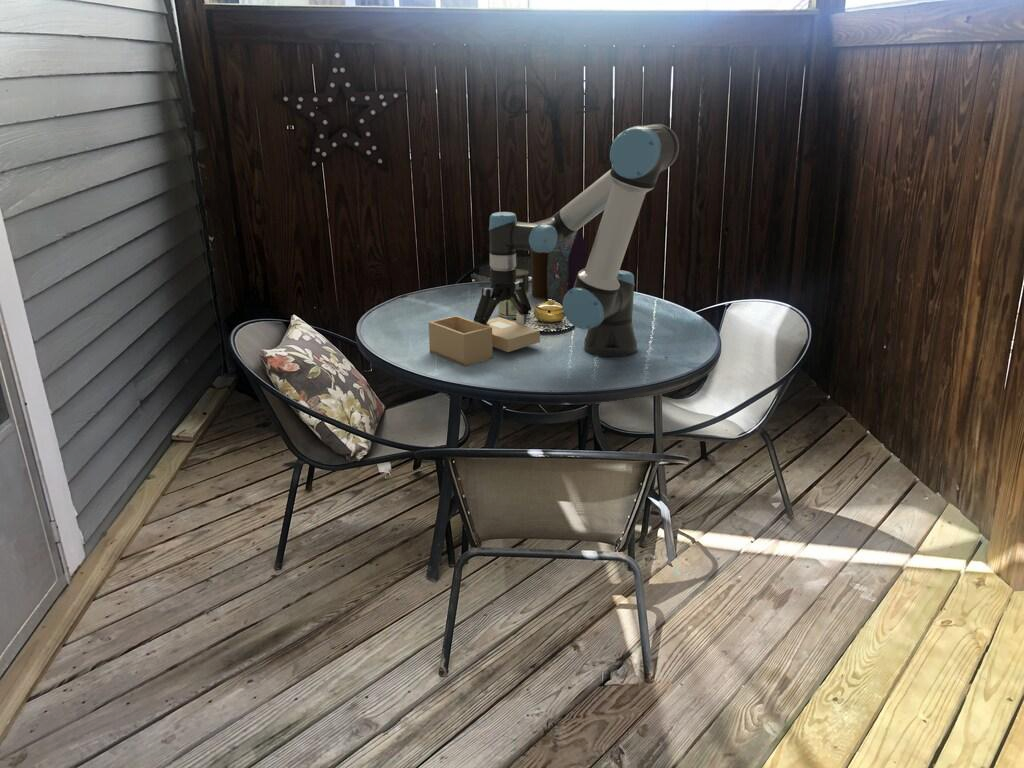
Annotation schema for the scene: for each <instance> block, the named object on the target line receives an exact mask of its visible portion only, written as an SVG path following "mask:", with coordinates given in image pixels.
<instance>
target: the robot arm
mask: <svg viewBox="0 0 1024 768" xmlns="http://www.w3.org/2000/svg"><path fill="white" fill-rule="evenodd" d="M679 152H680V143H679V138H678V136H677V134H676V133H675V131H673V130H672V129H671V128H670V127H669V126H667V125H664V124H662V123H661V124H660V123H652V124H647V125H634V126H630V127H629V128H627V129H624V130H623V131H622V132H620V133H619V134H617V136H616V137H615V138H614V140H613V141H612V143H611V146H610V151H609V161H610V162H611V168H610V169H609V170H608V171H607V172H604V174H602V176H600V177H599V178H598V179H596V180H595V181H594V182H593V183H592V184H591V185H589V186H588V187H587V188H585V190H584V189H583V191H581V193H579V194H578V195H577V196H576V197H574V198H573V199H572V200H571V201H569V202H568V203H567V204H566V205H565V206H563V207H562V208H561V209H559V211H557V212H555V214H553V215H552V216H550V217H549V218H546V219H543V220H539V221H536V222H524V221H523V222H522V221H517V215H516V213H515V212H511V211H498V212H497V211H496V212H494V213H491V215H490V216H489V224H488V225H489V227H488V232H489V233H488V234H489V235H488V236H489V267H490V269H489V281H490V284H491V286H490V287H489V288H487V287H482V289H481V296H480V299H479V303H478V305H477V309H476V312H475V314H474V316H473V321H474V322H477V323H480V324H483V325H486V326H489V327H490V324H489V323H487V322H488V320H490V319H491V317H492V315H493V313H494V311H495V310H496V308H497V307H498V304H499V303H500V301H504V300H510V301H511V302H512V304H513V305H514V306H515V308H516V309H517V310H518V312H519V313H517V314H516V318H515V319H516V323H519V324H522V325H526V322H527V321H526V319H527V316H528V314H529V315H530V312H531V311H532V306H531V304H530V301H528V298H527V296H526V293H525V290H524V283H523V282H520V281H516V269H517V268H516V267H517V250H522V251H527V252H531V251H534V252H538V253H541V252H545V253H549V252H551V251H552V250H553V248H555V246H556V244H558V243H563V242H565V241H567V240H569V239H570V238H572V237H573V235H574V233H575V232H576V231H577V230H578V229H580V228H581V229H582V227H584V226H585V225H587V224H588V223H589V222H590V221H591V220H593V219H594V218H595V217H596V216H598V215H599V214H600V213H602V217H601V219H600V223H599V224H598V229H597V231H596V235H595V237H594V240H593V241H594V242H593V245H592V247H591V251H590V253H589V259H588V262H587V265H586V268H585V269H582V270H580V271H579V272H578V275H577V278H576V281H575V284H574V287H573V288H572V289H570V290H569V291H568V292H567V293H566V295H565V296H564V299H563V304H562V306H563V309H562V311H563V314H564V315H565V318H566V319H567V321H568V322H569V323H570V324H571V325H572V326H574V327H576V328H577V329H581V330H587V333H586V336H585V338H584V341H583V342H584V343H583V344H584V345H583V349H584V351H586V352H587V353H589V354H592V355H595V356H600V357H607V358H610V357H612V358H613V357H614V356H615V357H614V358H616V356H619V357H625V356H624V355H626V356H629V355H632V354H634V353H636V352H637V349H638V342H637V339H636V336H635V331H634V327H633V313H634V312H633V310H634V309H633V308H634V297H635V296H634V293H635V285H636V284H635V275H634V274H633V273H632V272H630V271H627V270H621V266H622V263H623V261H624V257H625V255H626V252H627V249H628V247H629V243H630V240H631V237H632V234H633V232H634V229H635V226H636V222H637V219H638V217H639V215H640V212H641V208H642V205H643V204H644V203H643V202H644V200H645V197H646V194H647V193H648V192H650V191H652V190H653V189H655V187H656V183H657V181H658V178H659V175H660V173H662V172H663V171H665V170H666V169H668V168H670V167H671V166H672V165H673V164H674V163H675V161H676V160H677V158H678V156H679ZM515 289H516V292H517V294H518V297H519V299H520V301H519V300H518V298H517V296H516V294H515V293H514V290H515ZM528 311H529V312H528ZM526 315H527V316H526Z"/></svg>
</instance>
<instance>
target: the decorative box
mask: <svg viewBox="0 0 1024 768" xmlns="http://www.w3.org/2000/svg"><path fill="white" fill-rule="evenodd" d="M589 256H590V253H589V251H588V248H587V245H586V240H585V237H584V234H583V231H582V227H581V228H580V229H578V230H577V231H576V232H575V233H574V235H573V237H572V238H570V239H569V240H567V241H565V242H563V243H558V244H556V246H555V248H553V250H552V251H551V252H549V253H548V266H547V298H546V301H548V299H552V300H555V301H556V302H558V303H560V304H561V305H562V304H563V299H564V296H565V295H566V293H567V292H568V291H569V290H570V289H572V288H573V287H574V284H575V281H576V278H577V275H578V272H579V271H580V270H582V269H585V268H586V265H587V262H588V259H589Z"/></svg>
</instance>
